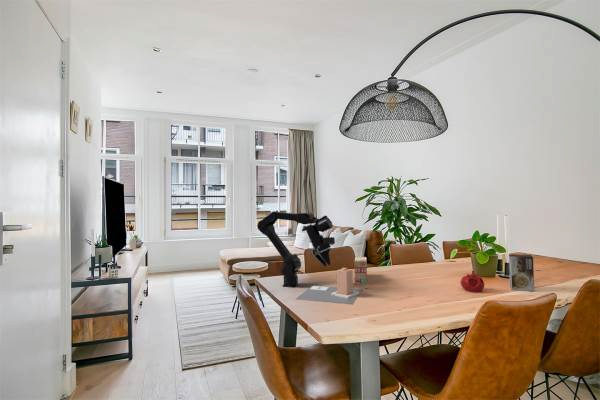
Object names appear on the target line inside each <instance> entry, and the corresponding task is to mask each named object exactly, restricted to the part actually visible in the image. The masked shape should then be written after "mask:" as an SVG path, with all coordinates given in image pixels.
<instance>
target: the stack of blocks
mask: <svg viewBox="0 0 600 400" xmlns="http://www.w3.org/2000/svg"><path fill="white" fill-rule="evenodd" d="M367 261H368V260H367V257H366V256H355V257H354V285H368V272H367V270H368V264H367Z"/></svg>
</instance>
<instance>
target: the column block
mask: <svg viewBox="0 0 600 400" xmlns="http://www.w3.org/2000/svg"><path fill="white" fill-rule="evenodd" d="M353 281H354V280H353V269H348V267H342V268H340V269H337V270H336V287H337V294H341V295H346V296H348V295H351V294H353V284H354V283H353Z"/></svg>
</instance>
